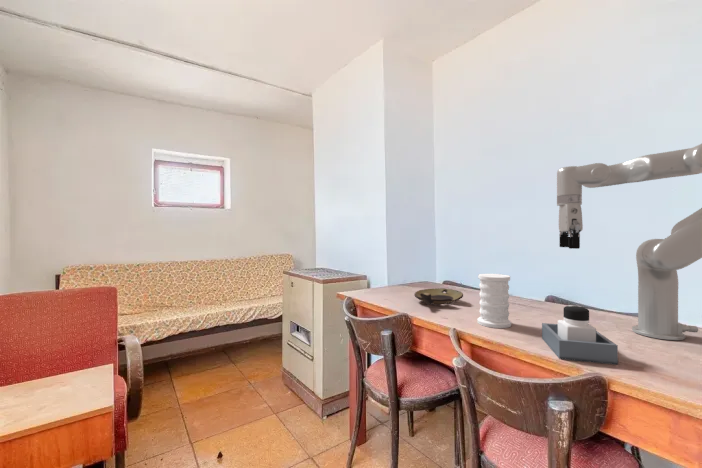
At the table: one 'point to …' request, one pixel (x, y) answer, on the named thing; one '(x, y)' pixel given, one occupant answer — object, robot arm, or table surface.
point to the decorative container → (494, 301)
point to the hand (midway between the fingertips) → (569, 247)
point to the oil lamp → (438, 296)
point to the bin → (580, 347)
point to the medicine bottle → (576, 325)
